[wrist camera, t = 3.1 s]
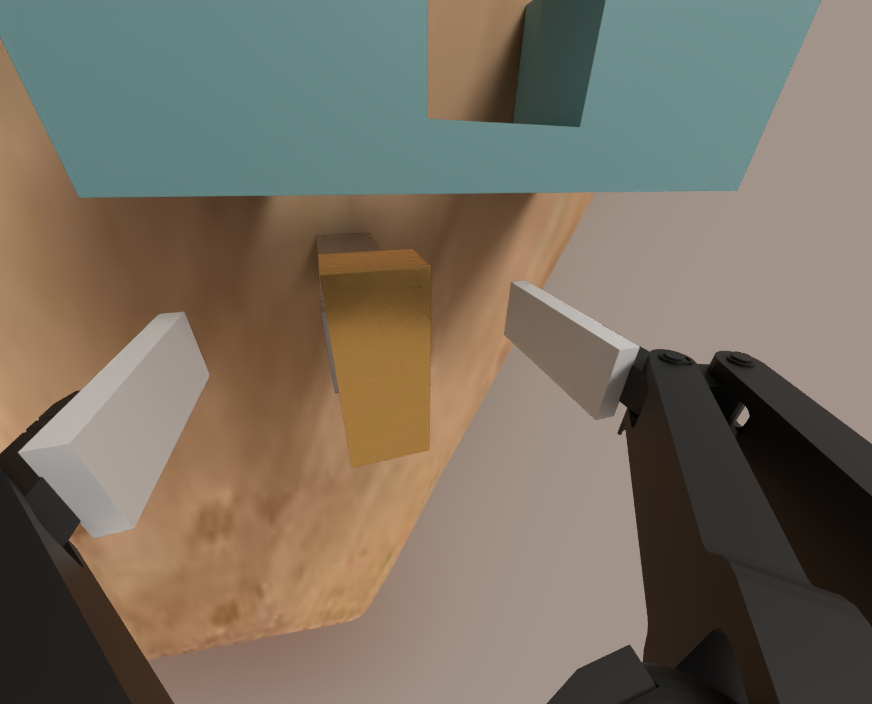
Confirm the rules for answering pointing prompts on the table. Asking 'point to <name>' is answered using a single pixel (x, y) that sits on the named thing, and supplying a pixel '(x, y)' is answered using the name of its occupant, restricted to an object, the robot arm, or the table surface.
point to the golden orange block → (377, 344)
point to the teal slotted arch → (397, 96)
